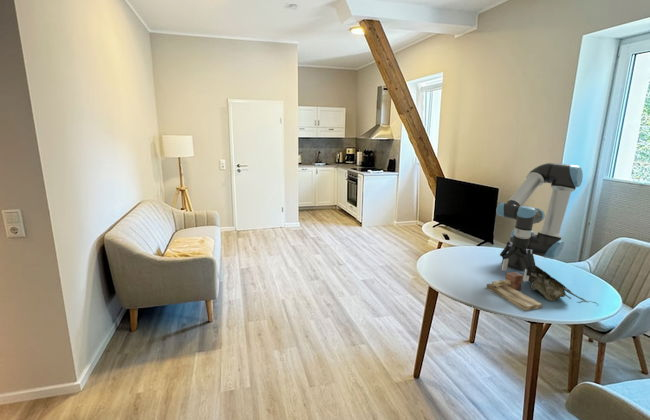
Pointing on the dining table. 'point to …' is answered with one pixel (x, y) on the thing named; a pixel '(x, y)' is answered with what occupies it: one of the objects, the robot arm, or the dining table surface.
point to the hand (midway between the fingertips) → (514, 275)
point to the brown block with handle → (510, 281)
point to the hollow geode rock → (546, 284)
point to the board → (515, 297)
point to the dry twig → (577, 296)
